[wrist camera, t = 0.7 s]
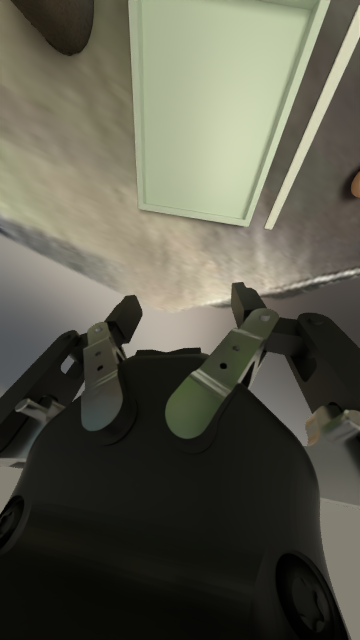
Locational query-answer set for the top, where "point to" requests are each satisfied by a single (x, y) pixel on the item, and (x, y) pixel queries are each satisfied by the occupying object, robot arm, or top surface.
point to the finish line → (318, 113)
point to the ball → (356, 186)
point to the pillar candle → (60, 21)
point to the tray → (214, 98)
